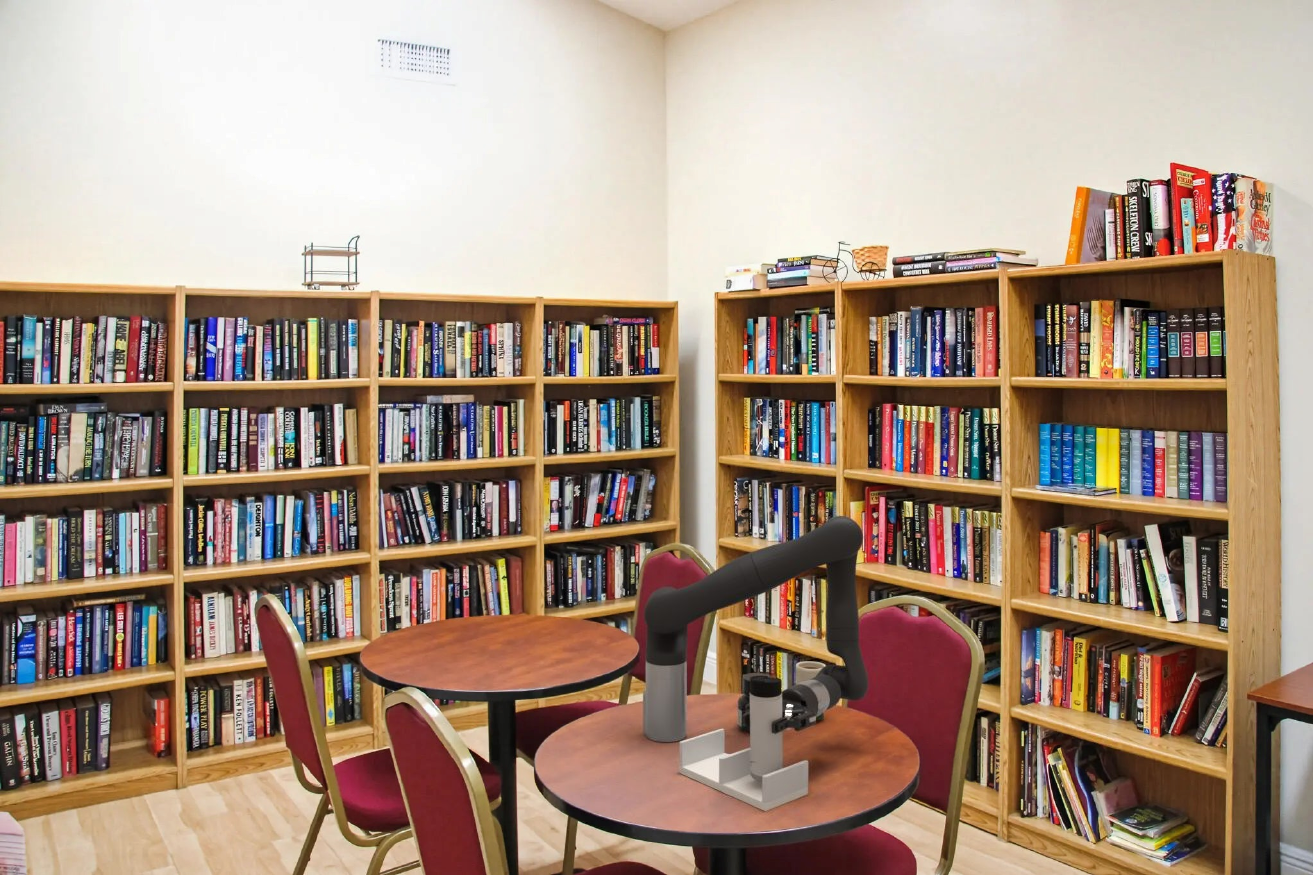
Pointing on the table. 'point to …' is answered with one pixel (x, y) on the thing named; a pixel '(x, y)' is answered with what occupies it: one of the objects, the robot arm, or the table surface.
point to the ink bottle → (745, 699)
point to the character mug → (808, 674)
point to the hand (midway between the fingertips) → (758, 724)
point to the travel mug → (765, 726)
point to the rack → (740, 773)
